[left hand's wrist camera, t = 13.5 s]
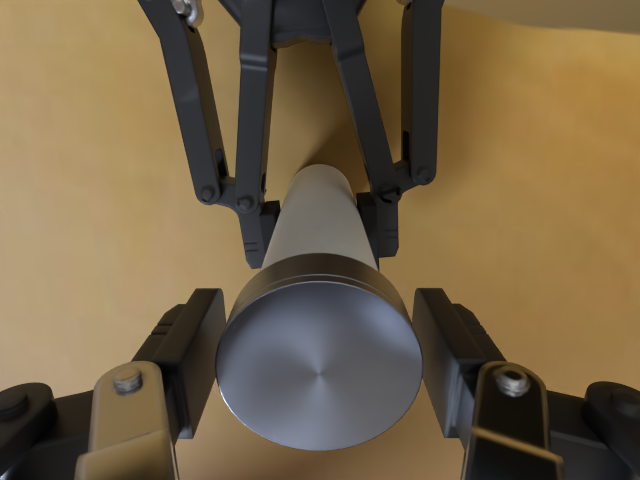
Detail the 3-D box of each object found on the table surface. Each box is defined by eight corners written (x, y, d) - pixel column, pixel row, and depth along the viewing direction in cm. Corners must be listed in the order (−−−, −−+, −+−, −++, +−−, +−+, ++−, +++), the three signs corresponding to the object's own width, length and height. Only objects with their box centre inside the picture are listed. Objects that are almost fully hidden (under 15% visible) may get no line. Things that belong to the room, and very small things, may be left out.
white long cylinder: (349, 161, 25) (404, 281, 9) (352, 223, 27) (403, 422, 11) (284, 166, 25) (221, 293, 9) (291, 227, 27) (247, 431, 11)
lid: (409, 245, 10) (426, 273, 8) (407, 399, 12) (421, 446, 10) (216, 258, 10) (197, 288, 9) (243, 408, 12) (231, 456, 10)
